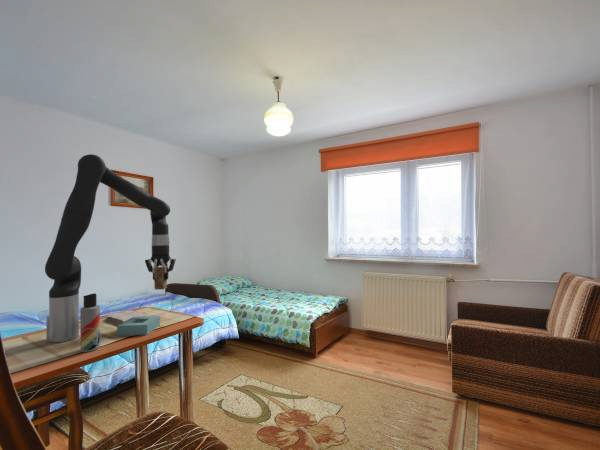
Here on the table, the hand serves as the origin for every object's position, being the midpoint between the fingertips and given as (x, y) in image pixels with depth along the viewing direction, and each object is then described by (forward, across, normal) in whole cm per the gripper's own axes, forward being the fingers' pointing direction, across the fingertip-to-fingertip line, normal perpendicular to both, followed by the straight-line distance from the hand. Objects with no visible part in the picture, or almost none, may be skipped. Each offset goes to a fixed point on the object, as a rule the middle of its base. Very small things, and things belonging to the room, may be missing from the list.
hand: (160, 280), depth 136 cm
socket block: (+19, -4, -12) cm, 23 cm away
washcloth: (+20, -19, +5) cm, 28 cm away
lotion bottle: (+19, -12, -31) cm, 38 cm away
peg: (+4, 0, 0) cm, 4 cm away
